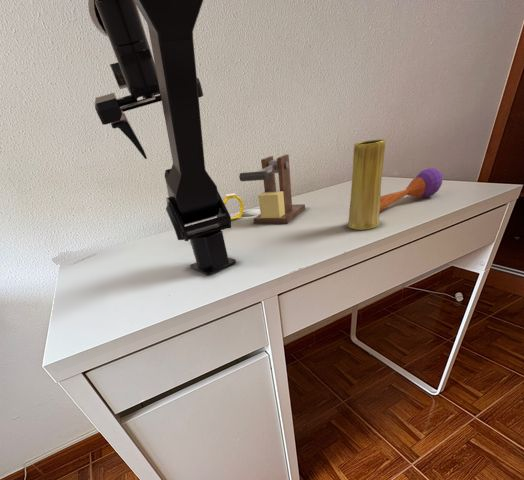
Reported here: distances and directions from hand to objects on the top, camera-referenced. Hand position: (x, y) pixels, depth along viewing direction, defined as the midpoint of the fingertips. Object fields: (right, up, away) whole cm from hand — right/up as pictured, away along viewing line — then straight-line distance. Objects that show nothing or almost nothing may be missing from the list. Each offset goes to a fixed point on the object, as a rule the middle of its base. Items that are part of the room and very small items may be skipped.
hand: (167, 151), depth 59 cm
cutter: (+24, -6, +15) cm, 29 cm away
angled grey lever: (+20, -2, +6) cm, 21 cm away
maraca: (+52, -7, +9) cm, 54 cm away
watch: (+12, -5, +19) cm, 23 cm away
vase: (+40, -15, +1) cm, 43 cm away
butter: (+22, -8, +12) cm, 26 cm away
